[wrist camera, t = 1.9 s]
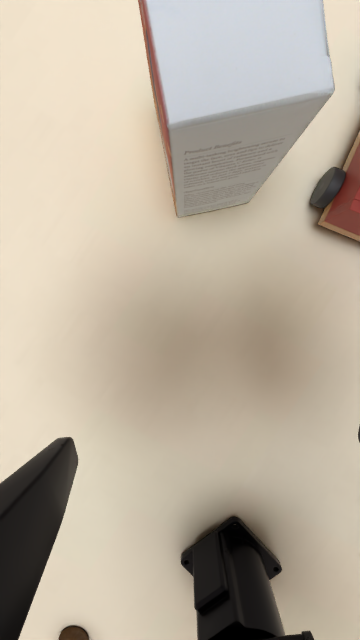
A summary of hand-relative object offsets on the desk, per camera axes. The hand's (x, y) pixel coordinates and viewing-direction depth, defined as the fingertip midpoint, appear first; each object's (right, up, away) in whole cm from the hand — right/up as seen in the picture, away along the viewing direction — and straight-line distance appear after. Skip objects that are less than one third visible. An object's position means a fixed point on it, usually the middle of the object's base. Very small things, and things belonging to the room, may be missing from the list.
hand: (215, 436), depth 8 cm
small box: (+1, +16, +10) cm, 19 cm away
